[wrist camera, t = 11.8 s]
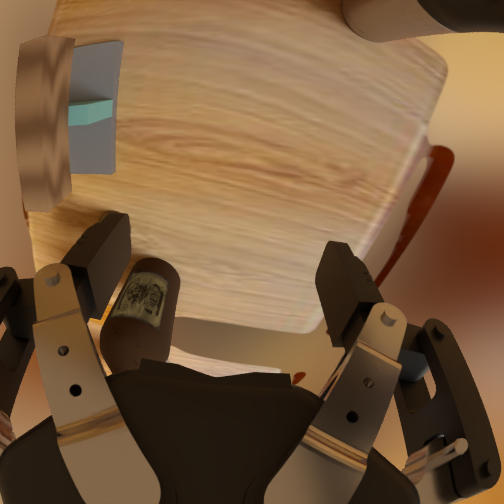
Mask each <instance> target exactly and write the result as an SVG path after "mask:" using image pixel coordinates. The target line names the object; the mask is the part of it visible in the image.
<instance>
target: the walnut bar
mask: <svg viewBox="0 0 504 504" xmlns="http://www.w3.org/2000/svg"><path fill="white" fill-rule="evenodd" d="M74 43H75V39H73V38H65V37H57V36H48V35H46V36H42V37H39V38H37V39H34V40H31V41H28V42H25V43H23V44H21V45H20V50H19V57H18V66H17V77H16V94H15V95H16V96H15V130H16V147H17V159H18V168H19V176H20V183H21V190H22V196H23V202H24V207H25V211H32V212H46V213H48V212H49V211H51V210H52V209H53V208H54V207H55V206H56V205H57V204H58V203H60V202H61V201H62V200H63V199H64V198H66V197H67V196H68V195H69V194H70V193H72V185H71V174H70V160H69V134H68V115H69V89H70V76H71V66H72V57H73V50H74Z"/></svg>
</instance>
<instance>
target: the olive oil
mask: <svg viewBox="0 0 504 504" xmlns="http://www.w3.org/2000/svg"><path fill="white" fill-rule="evenodd" d="M179 289H180V277H179V275H178V273H177V271H176V270H175V269H174V268H173V267H172V266H171V265H170V264H168V263H167V262H165V261H163V260H160V259H155V258H147V259H143V260H140V261H139V262H137V263H136V264H135V265H134V267H133V269H132V271H131V272H130V274H129V276H128V278H127V280H126V282H125V284H124V286H123V288H122V290H121V292H120V293H119V295H118V297H117V299H116V301H115V303H114V305H113V307H112V309H111V311H110V313H109V315H108V316H107V318H106V320H105V322H104V324H103V326H102V329H101V333H100V350H101V353H102V356H103V358H104V360H105V361H106V363H107V365H108V367H109V369H110V370H111V372H112V374H113V373H116V372H119V371H123V370H127V369H134V368H139V367H140V363H141V359H142V358H145V359H150V360H156V361H161V362H166V361H167V359H168V356H169V352H170V345H171V338H172V330H173V323H174V317H175V310H176V304H177V299H178V294H179Z"/></svg>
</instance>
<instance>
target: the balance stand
mask: <svg viewBox="0 0 504 504" xmlns="http://www.w3.org/2000/svg"><path fill="white" fill-rule="evenodd" d="M123 43H124V42H122V41H113V42H106V43H99V44H93V45H87V46H82V47H77V48H74V50H73V57H72V66H71V76H70V89H69V115H68V134H69V160H70V174H111V175H112V174H113V173H114V172H115V133H116V109H117V94H118V83H119V73H120V64H121V57H122V50H123Z"/></svg>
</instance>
